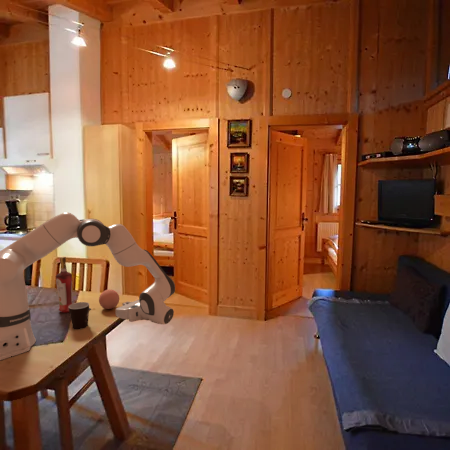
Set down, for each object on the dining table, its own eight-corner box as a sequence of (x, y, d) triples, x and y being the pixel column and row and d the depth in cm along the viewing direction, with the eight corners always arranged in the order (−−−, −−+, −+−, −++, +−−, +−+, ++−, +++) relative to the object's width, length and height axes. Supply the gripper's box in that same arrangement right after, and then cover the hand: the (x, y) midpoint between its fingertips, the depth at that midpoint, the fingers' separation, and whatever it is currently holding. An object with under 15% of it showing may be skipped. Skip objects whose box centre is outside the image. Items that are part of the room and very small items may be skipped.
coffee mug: (82, 331, 145) (81, 309, 144) (65, 329, 147) (64, 308, 146) (98, 320, 156) (97, 300, 155) (81, 319, 158) (80, 299, 157)
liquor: (55, 312, 167) (51, 258, 163) (67, 307, 173) (64, 255, 170) (64, 314, 163) (60, 259, 160) (77, 309, 170) (74, 256, 166)
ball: (108, 313, 165) (107, 294, 164) (95, 309, 170) (94, 290, 169) (123, 307, 173) (123, 288, 172) (111, 303, 178) (110, 285, 177)
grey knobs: (82, 313, 165) (81, 311, 165) (77, 312, 167) (77, 309, 167) (119, 299, 185) (119, 297, 185) (115, 298, 187) (115, 296, 187)
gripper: (159, 296, 166) (140, 292, 173) (127, 310, 148) (107, 304, 156) (159, 308, 166) (140, 303, 174) (128, 323, 149) (108, 316, 157)
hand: (124, 303), depth 165 cm, fingers closed
